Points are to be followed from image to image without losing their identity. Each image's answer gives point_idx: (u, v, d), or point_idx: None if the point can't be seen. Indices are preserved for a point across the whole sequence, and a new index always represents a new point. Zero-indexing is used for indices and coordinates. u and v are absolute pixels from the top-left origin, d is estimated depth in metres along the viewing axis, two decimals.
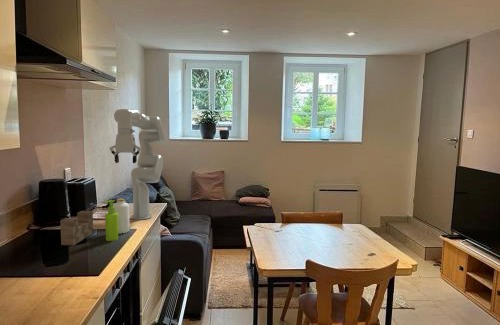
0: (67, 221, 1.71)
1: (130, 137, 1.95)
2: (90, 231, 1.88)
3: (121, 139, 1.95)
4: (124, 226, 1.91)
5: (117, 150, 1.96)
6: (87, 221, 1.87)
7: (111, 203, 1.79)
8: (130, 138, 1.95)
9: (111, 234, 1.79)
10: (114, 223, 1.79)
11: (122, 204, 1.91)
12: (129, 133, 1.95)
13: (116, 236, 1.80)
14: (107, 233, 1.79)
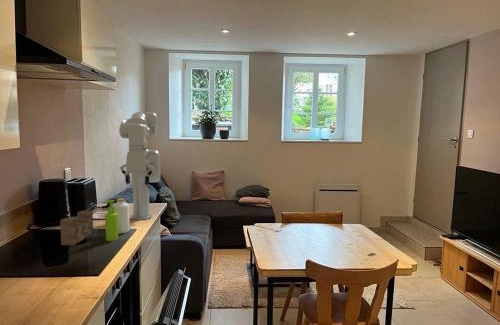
0: (67, 221, 1.71)
1: (142, 155, 1.75)
2: (90, 231, 1.88)
3: (132, 158, 1.75)
4: (124, 226, 1.91)
5: (128, 170, 1.76)
6: (87, 221, 1.87)
7: (111, 203, 1.79)
8: (143, 156, 1.75)
9: (111, 234, 1.79)
10: (114, 223, 1.79)
11: (122, 204, 1.91)
12: (141, 151, 1.75)
13: (116, 236, 1.80)
14: (107, 233, 1.79)
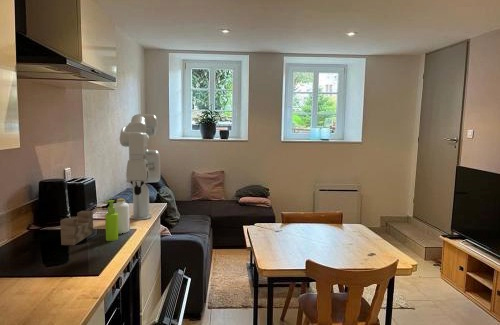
0: (67, 221, 1.71)
1: (143, 163, 1.75)
2: (90, 231, 1.88)
3: (132, 166, 1.75)
4: (124, 226, 1.91)
5: (128, 178, 1.76)
6: (87, 221, 1.87)
7: (111, 203, 1.79)
8: (143, 165, 1.75)
9: (111, 234, 1.79)
10: (114, 223, 1.79)
11: (122, 204, 1.91)
12: (142, 159, 1.75)
13: (116, 236, 1.80)
14: (107, 233, 1.79)
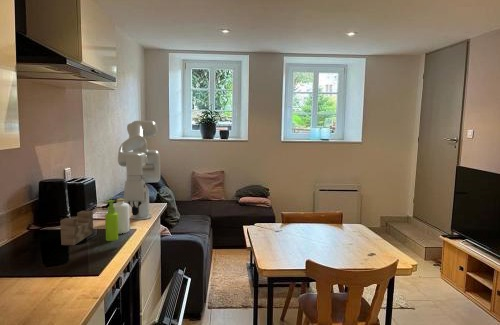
0: (67, 221, 1.71)
1: (140, 184, 1.76)
2: (90, 231, 1.88)
3: (130, 187, 1.76)
4: (124, 226, 1.91)
5: (126, 199, 1.77)
6: (87, 221, 1.87)
7: (111, 203, 1.79)
8: (140, 186, 1.76)
9: (111, 234, 1.79)
10: (114, 223, 1.79)
11: (122, 204, 1.91)
12: (139, 180, 1.76)
13: (116, 236, 1.80)
14: (107, 233, 1.79)
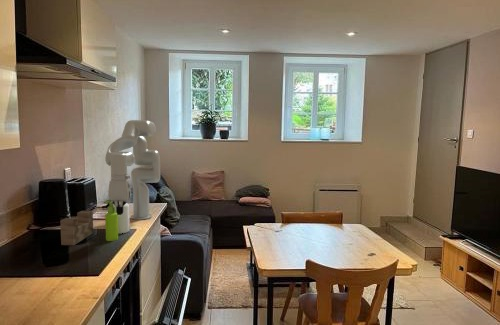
0: (67, 221, 1.71)
1: (125, 184, 1.76)
2: (90, 231, 1.88)
3: (114, 187, 1.76)
4: (124, 226, 1.91)
5: (110, 198, 1.77)
6: (87, 221, 1.87)
7: (111, 203, 1.79)
8: (125, 185, 1.76)
9: (111, 234, 1.79)
10: (113, 223, 1.79)
11: None
12: (124, 180, 1.76)
13: (116, 236, 1.80)
14: (107, 233, 1.79)
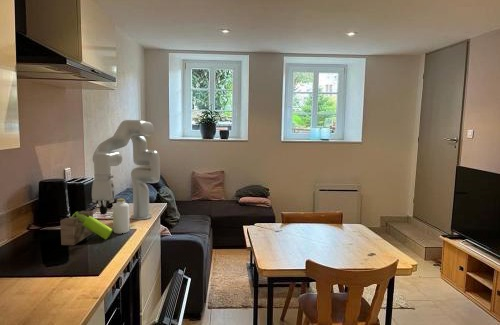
0: (67, 221, 1.71)
1: (108, 184, 1.77)
2: (90, 231, 1.88)
3: (98, 187, 1.76)
4: (124, 226, 1.91)
5: (94, 198, 1.77)
6: None
7: (77, 214, 1.80)
8: (108, 185, 1.77)
9: (102, 231, 1.78)
10: (94, 223, 1.79)
11: (122, 204, 1.91)
12: (107, 179, 1.76)
13: (107, 228, 1.80)
14: (99, 234, 1.79)
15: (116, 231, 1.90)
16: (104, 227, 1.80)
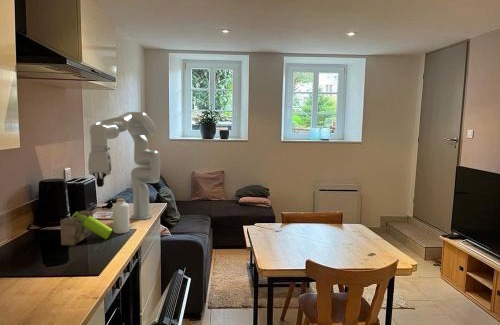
0: (67, 221, 1.71)
1: (104, 155, 1.75)
2: (90, 231, 1.88)
3: (94, 158, 1.75)
4: (124, 226, 1.91)
5: (90, 170, 1.76)
6: None
7: (77, 214, 1.80)
8: (104, 157, 1.75)
9: (102, 231, 1.78)
10: (94, 223, 1.79)
11: (122, 204, 1.91)
12: (103, 151, 1.75)
13: (107, 228, 1.80)
14: (99, 234, 1.79)
15: (116, 231, 1.90)
16: (104, 227, 1.80)
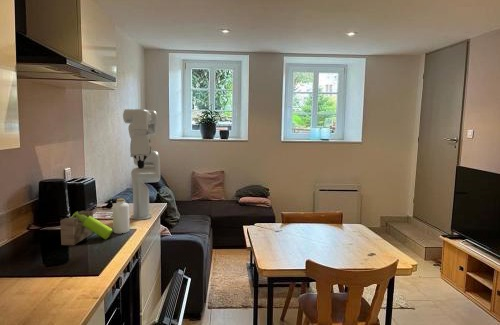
0: (67, 221, 1.71)
1: (146, 139, 1.85)
2: (90, 231, 1.88)
3: (136, 141, 1.85)
4: (124, 226, 1.91)
5: (132, 152, 1.86)
6: None
7: (77, 214, 1.80)
8: (146, 140, 1.85)
9: (102, 231, 1.78)
10: (94, 223, 1.79)
11: (122, 204, 1.91)
12: (145, 134, 1.85)
13: (107, 228, 1.80)
14: (99, 234, 1.79)
15: (116, 231, 1.90)
16: (104, 227, 1.80)
